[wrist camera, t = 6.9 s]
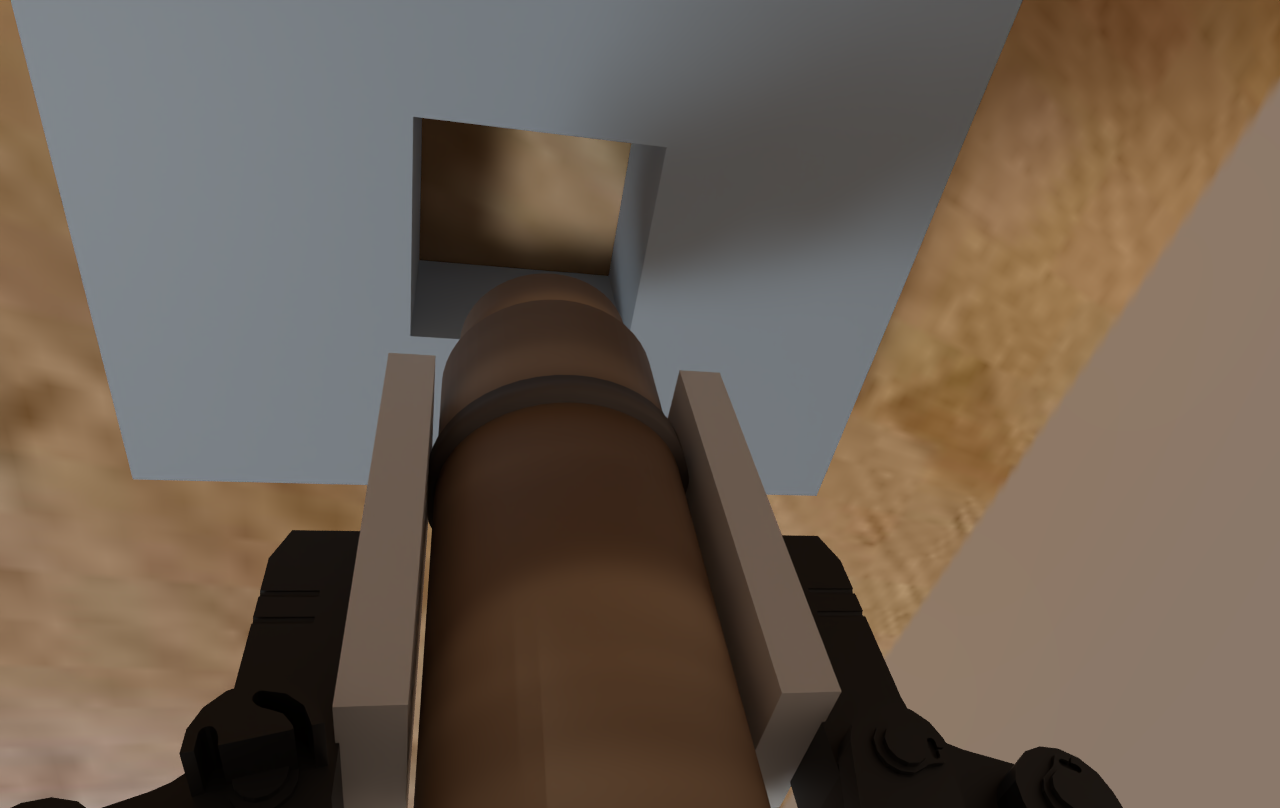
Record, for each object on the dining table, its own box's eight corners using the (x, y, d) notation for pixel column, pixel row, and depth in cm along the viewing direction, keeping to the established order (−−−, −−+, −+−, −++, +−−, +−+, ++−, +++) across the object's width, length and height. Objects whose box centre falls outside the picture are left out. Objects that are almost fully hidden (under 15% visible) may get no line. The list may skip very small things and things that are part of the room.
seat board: (45, -267, 16) (-59, -271, 13) (959, -83, 21) (1044, -53, 17) (175, 390, 26) (133, 478, 22) (781, 418, 30) (816, 495, 27)
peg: (439, 242, 15) (333, 1440, 4) (665, 262, 16) (1033, 1290, 5) (433, 423, 18) (356, 1471, 7) (628, 431, 19) (829, 1363, 8)
